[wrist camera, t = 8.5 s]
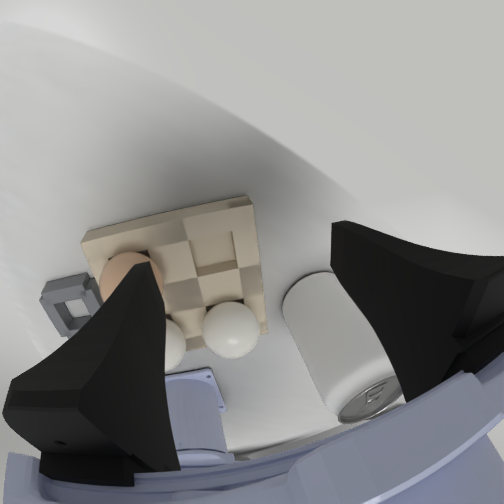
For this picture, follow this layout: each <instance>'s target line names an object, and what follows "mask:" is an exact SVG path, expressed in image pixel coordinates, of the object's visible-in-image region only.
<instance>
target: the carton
mask: <svg viewBox="0 0 504 504" xmlns="http://www.w3.org/2000/svg"><path fill="white" fill-rule="evenodd" d="M80 244H81V246H82V249H83V251H84V254H85V256H86V259H87V261H88V263H89V266H90V268H91V270H92V273H93V275H94V277H95V279H96V282H97V284H98V286H99V279H100V275H101V272H102V270H103V268H104V266H105V265H106V264H107V262H108V261H109V260H110V259H112V258H113V257H114V256H116V255H118V254H121V253H124V252H137V253H141V254H143V255H146V256H147V257H149V258H150V259H151V260H153V261H154V262H155V263H156V265H157V266H158V268H159V269H160V271H161V274H162V277H163V281H164V291H163V296H162V297H163V300H164V303H165V314H166V318H167V319H169V320H171V321H173V322H174V323H175V324H176V325H177V326H178V327H179V328H180V329H181V331H182V332H183V334H184V337H185V341H186V351H190V350H195V349H200V348H205V347H207V345H206V344H205V342H204V339H203V336H202V324H203V320H204V318H205V316H206V314H207V313H208V312H209V311H210V310H211V309H212V308H213V307H214V306H216V305H218V304H220V303H223V302H229V301H232V302H238V303H241V304H244V305H245V306H247V307H249V308H250V309H251V310H252V311H253V312H254V314H255V315H256V317H257V319H258V321H259V325H260V335H263V334H267V333H268V329H267V320H266V311H265V302H264V294H263V285H262V276H261V267H260V259H259V250H258V241H257V233H256V224H255V216H254V207H253V203H252V202H251V200H250V199H249V197H248V196H242V197H237V198H232V199H226V200H221V201H216V202H211V203H206V204H201V205H197V206H192V207H187V208H183V209H178V210H174V211H169V212H165V213H160V214H156V215H152V216H147V217H143V218H139V219H135V220H131V221H127V222H123V223H119V224H115V225H111V226H107V227H103V228H99V229H96V230H92V231H88V232H87V233H86V234H85V236H84V238H83V239H82V241H81V243H80Z"/></svg>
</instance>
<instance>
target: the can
mask: <svg viewBox="0 0 504 504" xmlns="http://www.w3.org/2000/svg"><path fill="white" fill-rule="evenodd" d="M282 311H283V315H284V318H285V320H286V323H287V325H288V327H289V329H290V331H291V334H292V336H293V338H294V340H295V342H296V345H297V347H298V349H299V351H300V353H301V356H302V358H303V360H304V362H305V364H306V366H307V369H308V371H309V373H310V375H311V377H312V379H313V381H314V384H315V386H316V388H317V390H318V392H319V394H320V396H321V398H322V400H323V402H324V404H325V406H326V407H327V409H328V410H330V411H331V412H332V413H334V414H335V415H337V416H338V421H339V422H340V423H342V424H352V423H357V422H360V421H363V420H366V419H368V418H370V417H372V416H374V415H376V414H378V413H379V412H381V411H383V410H384V409H386V408H387V407H388V406H390V405H391V404H392V403H394V402H395V401H396V400H397V399H398V398H399V397H400V396H401V395H402V394H403V392H402V389H401V386H400V384H399V381H398V379H397V376H396V374H395V372H394V369H393V367H392V364H391V362H390V360H389V358H388V356H387V354H386V352H385V350H384V348H383V346H382V344H381V342H380V340H379V339H378V337H377V335H376V333H375V331H374V329H373V328H372V326H371V325H370V323H369V322H368V320H367V319H366V318H365V316H364V315H363V314H362V312H361V311H360V310H359V308H358V307H357V306H356V304H355V303H354V302H353V300H352V299H351V298H350V296H349V295H348V294H347V292H346V291H345V290H344V288H343V287H342V285H341V284H340V282H339V281H338V279H337V277H336V275H335V274H333V273H328V272H321V273H315V274H311V275H309V276H306V277H304V278H303V279H301V280H300V281H298V282H297V283H296V284H295V285H294V286H293V287H292V288H291V289H290V290H289V292H288V294H287V295H286V297H285V299H284V302H283V307H282Z"/></svg>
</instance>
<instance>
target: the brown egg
mask: <svg viewBox="0 0 504 504" xmlns="http://www.w3.org/2000/svg"><path fill="white" fill-rule="evenodd" d="M147 261H150V264H151V266H152V269H153V272H154V275H155V278H156V281H157V284H158V286H159V289H160V292H161V295H162V296H163V291H164V281H163V277H162V274H161V271H160V269H159V268H158V266H157V265H156V263H155V262H154V261H153V260H151V259H150V258H149V257H147V256H146V255H143V254H141V253H137V252H124V253H121V254H118V255H116V256H114V257H113V258H112V259H110V260H109V261H108V262H107V264H106V265H105V266H104V268H103V270H102V272H101V275H100V279H99V290H100V295H101V297H102V300H103V302H105V301H106V300H107V298H108V297H109V296H110V295H111V294H112V292H113V291H114V290H115V288H116V287H117V286H118V284H119V283H120V282H121V281H122V279H123V278H124V277H125V275H126V274H127V273H128V271H129V270H130V269H131V268H132V267H133V266H134V264H138V263H143V262H147Z"/></svg>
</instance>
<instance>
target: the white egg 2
mask: <svg viewBox="0 0 504 504" xmlns="http://www.w3.org/2000/svg"><path fill="white" fill-rule="evenodd" d="M259 335H260V325H259V321H258V319H257V317H256V315H255V314H254V312H253V311H252V310H251V309H250V308H249V307H247V306H245V305H244V304H241V303H238V302H232V301H229V302H223V303H220V304H218V305H216V306H214V307H213V308H212V309H211V310H210V311H209V312H208V313H207V314H206V316H205V318H204V320H203V324H202V336H203V339H204V342H205V344H206V345H207V347H208V348H209V349H210V350H211V351H212V352H213V353H214V354H216V355H218V356H220V357H223V358H228V359H234V358H239V357H242V356H244V355H246V354H248V353H249V352H250V351H251V350H252V349H253V348H254V347H255V346H256V344H257V342H258V339H259Z"/></svg>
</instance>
